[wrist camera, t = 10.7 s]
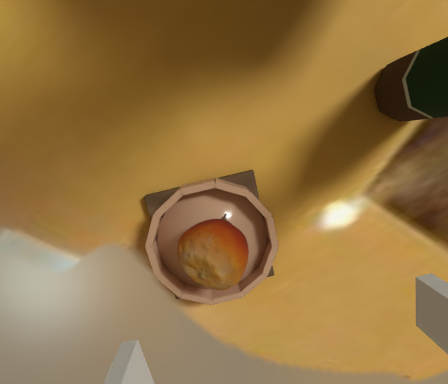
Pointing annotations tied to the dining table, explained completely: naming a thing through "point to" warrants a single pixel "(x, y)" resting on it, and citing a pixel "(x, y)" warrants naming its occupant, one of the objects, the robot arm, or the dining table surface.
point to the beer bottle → (416, 84)
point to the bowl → (201, 211)
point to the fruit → (213, 253)
